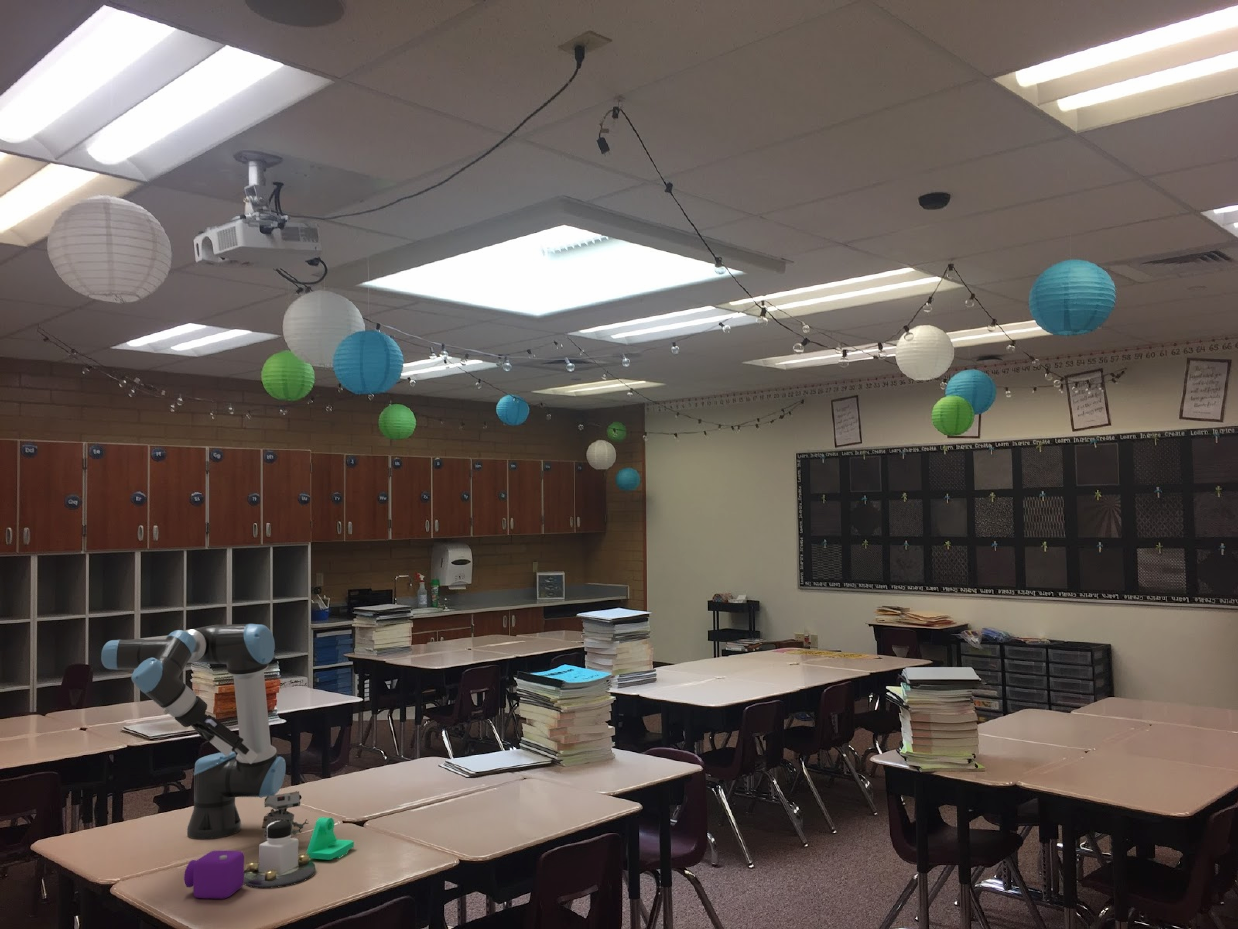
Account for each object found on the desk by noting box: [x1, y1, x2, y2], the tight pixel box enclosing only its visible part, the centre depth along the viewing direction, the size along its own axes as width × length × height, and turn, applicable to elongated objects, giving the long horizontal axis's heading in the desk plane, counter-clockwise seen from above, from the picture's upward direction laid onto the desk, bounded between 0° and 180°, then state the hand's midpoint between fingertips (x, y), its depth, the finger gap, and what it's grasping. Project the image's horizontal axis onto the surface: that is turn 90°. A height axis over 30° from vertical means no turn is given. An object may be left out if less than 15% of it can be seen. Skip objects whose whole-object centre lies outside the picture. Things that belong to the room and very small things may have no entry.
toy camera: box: [183, 850, 245, 900], centre depth 240 cm, size 11×14×10 cm
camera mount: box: [306, 816, 355, 861], centre depth 268 cm, size 12×8×10 cm, turn 163°
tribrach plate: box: [243, 853, 316, 889], centre depth 251 cm, size 18×18×4 cm
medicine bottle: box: [258, 821, 299, 874], centre depth 252 cm, size 7×7×12 cm
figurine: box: [261, 790, 309, 842], centre depth 276 cm, size 9×12×15 cm
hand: (242, 756), depth 252 cm, fingers open, 13 cm apart
